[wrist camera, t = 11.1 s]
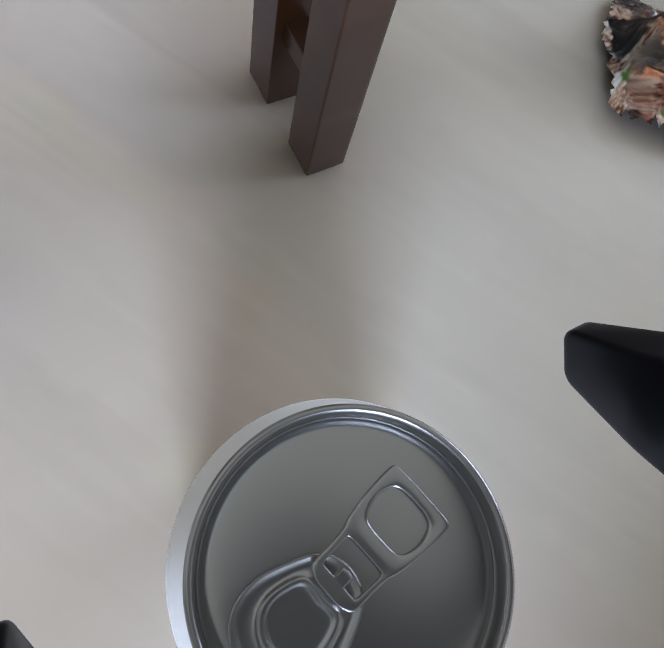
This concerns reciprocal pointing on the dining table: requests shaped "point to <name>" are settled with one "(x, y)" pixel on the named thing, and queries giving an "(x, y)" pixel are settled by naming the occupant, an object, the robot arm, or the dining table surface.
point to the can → (339, 538)
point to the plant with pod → (636, 59)
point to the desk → (318, 68)
